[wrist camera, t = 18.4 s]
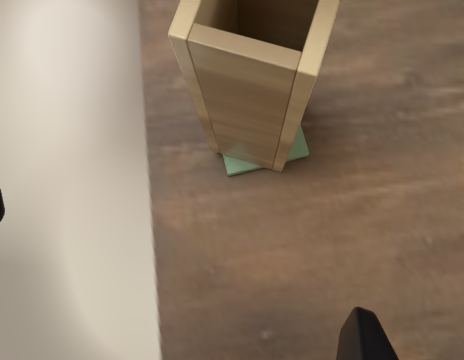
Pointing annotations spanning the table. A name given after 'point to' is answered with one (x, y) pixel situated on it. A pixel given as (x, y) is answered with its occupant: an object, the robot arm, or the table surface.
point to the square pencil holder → (251, 70)
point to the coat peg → (241, 166)
